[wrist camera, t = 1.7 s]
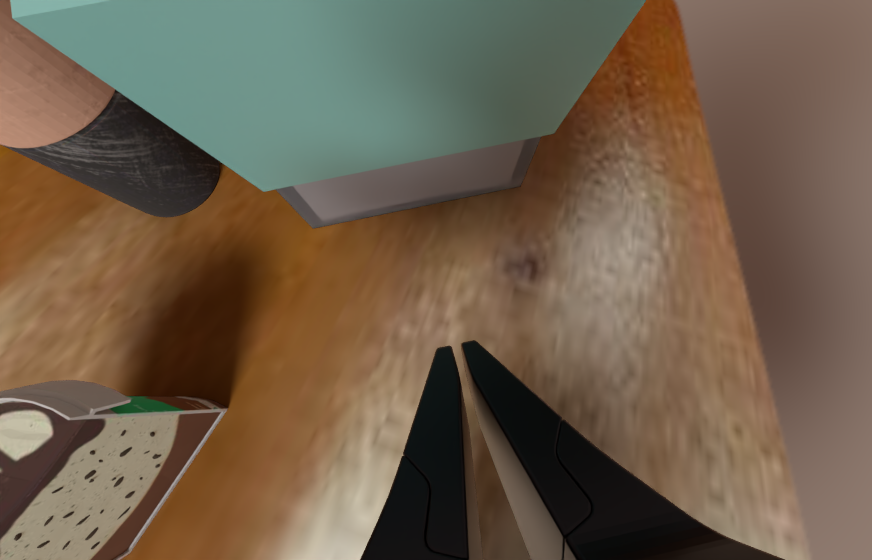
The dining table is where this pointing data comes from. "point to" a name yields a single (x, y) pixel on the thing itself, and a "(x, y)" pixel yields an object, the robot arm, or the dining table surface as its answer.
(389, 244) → the dining table surface
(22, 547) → the food container
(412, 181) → the grey rectangular box
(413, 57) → the mint green lid
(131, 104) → the travel mug
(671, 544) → the robot arm
